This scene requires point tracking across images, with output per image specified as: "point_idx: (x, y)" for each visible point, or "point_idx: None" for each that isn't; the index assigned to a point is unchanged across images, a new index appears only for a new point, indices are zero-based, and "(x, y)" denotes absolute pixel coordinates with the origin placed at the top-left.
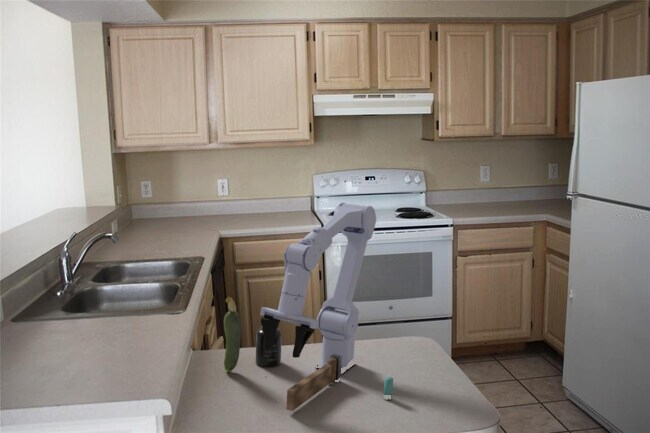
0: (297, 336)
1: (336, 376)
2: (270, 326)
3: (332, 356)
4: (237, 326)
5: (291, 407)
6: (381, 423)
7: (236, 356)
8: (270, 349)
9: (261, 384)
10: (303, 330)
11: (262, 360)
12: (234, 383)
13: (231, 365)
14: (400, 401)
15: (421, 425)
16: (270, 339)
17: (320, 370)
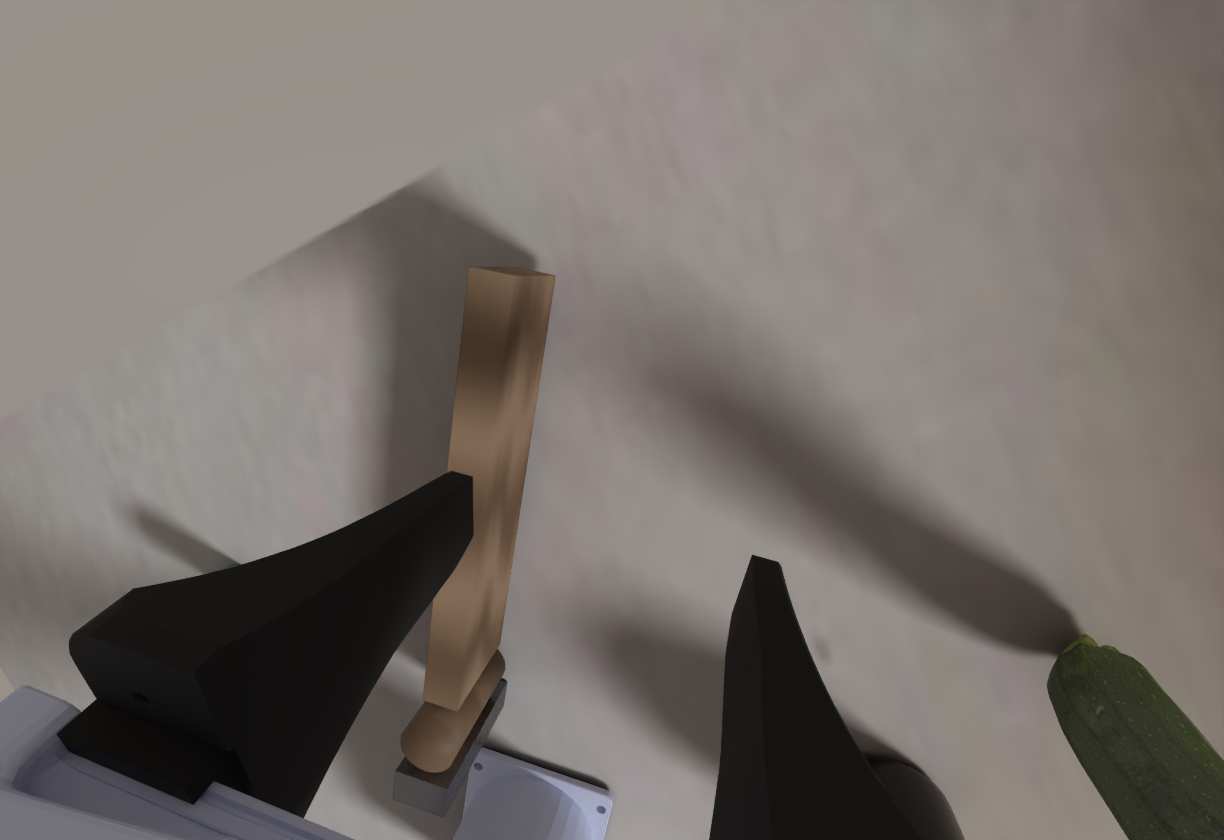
0: (299, 579)
1: None
2: (745, 796)
3: (435, 786)
4: None
5: (519, 269)
6: (179, 358)
7: (1082, 716)
8: None
9: (813, 553)
10: (114, 604)
11: (897, 788)
12: (979, 518)
13: (1080, 660)
14: (194, 573)
15: (65, 401)
16: (740, 666)
17: (448, 618)
